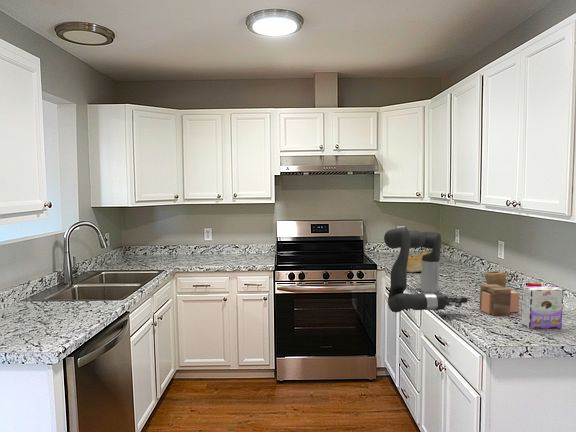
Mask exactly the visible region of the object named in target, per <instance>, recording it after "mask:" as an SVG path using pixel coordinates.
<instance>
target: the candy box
mask: <svg viewBox="0 0 576 432" xmlns="http://www.w3.org/2000/svg"><path fill="white" fill-rule="evenodd" d="M563 296H564V289H562V288H559V287H557V286H542V287H527V286H522V296H521V297H522V298H521V300H522V301H521V302H522V303H521V314H520V315H521V318H520V324H521V325H523V326H524V327H526V328H527V329H562V325H563V324H562V319H563V300H564V299H563V298H564V297H563Z"/></svg>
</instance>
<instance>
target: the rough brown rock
mask: <svg viewBox="0 0 576 432" xmlns="http://www.w3.org/2000/svg"><path fill="white" fill-rule="evenodd" d="M431 252H432V250H431V251H430V250H424V251H422V252H421V253H420V254H416V255H412V254H411V253H409V257H408V263H407V273H417V272H419V273H420V272H422V256H423V255H425V254H429V253H431Z"/></svg>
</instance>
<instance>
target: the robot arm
mask: <svg viewBox="0 0 576 432" xmlns="http://www.w3.org/2000/svg"><path fill="white" fill-rule="evenodd" d="M383 240H384V244H385V245H386V246H387V247H388V248H390V249H399V254H398V256H397V259H395V262H394V263H393V265H392V268H391V271H390V288H389V292H388V296H387V305H388V308H389V310H390V311H391V312H392V313H400V312H402V311H405V310H413V311H438V310H439V311H441V310H444V309H445V308H446V307H451V306H454V307H455V308H459V307H461V306H462V304H465V303H467V304H468V299H469V298H468V297H465V296H463V297H462V296H461V297H459V296H454V295H448V294H444V293H442V292H439V281H440V279H439V278H440V257H441V245H442V235H441V233H439V232H433V231H431V232H430V231H422V232H421V231H419V230H412V229H411V230H408V228H407V227H403V226H401V227H398V228H392V229H389V230H387V231H386V232H385V233H384V236H383ZM419 248H423V249H432V250H431V253H429V254H425V255H423V256H422V271H421V273H420V288H419V289H420V291H421V292H423V293H415V294H414V293H406V292H405V290H406V289H407V286H408V285H407V284H408V282H407V277H408V276H407V275H408V274H407V273H408V272H407V263H408V257H409V254H410V249H419Z"/></svg>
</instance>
